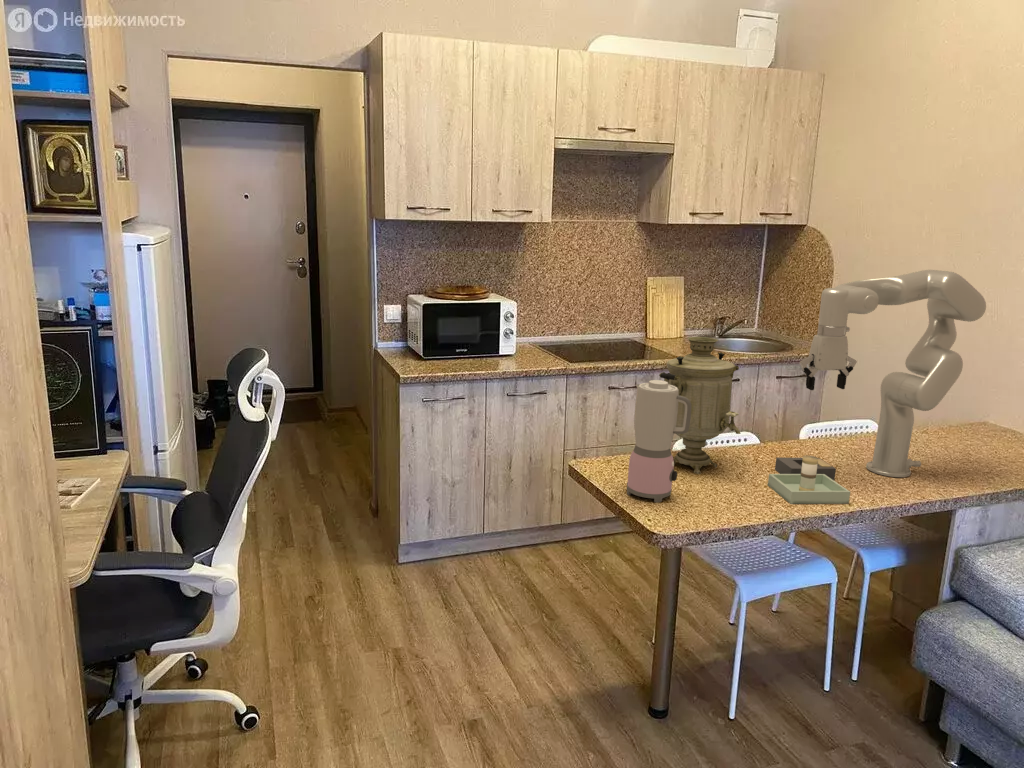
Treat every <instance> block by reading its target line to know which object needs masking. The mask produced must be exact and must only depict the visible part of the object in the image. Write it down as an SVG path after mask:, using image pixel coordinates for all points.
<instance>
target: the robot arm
mask: <svg viewBox="0 0 1024 768" xmlns="http://www.w3.org/2000/svg"><path fill="white" fill-rule="evenodd" d="M820 297H821V298H820V304H819V305H820V306H819V315H818V324H817V334H814V335H813V338H812V341H811V344H810V349H809V353H808V356H807V357H805V358H803V359H802V360H800V361H799V365H800V367H801V371H802V372H803V373H804V375H805V376H806V377H805V378H806V380H805V386H806V387H805V388H806V389H807V390H809V391H814V390H815V384H816V377H815V375H816V374H817V373H818V372H819V371H822V372H823V371H824V372H825V371H838V372H839V373H838V374H837V378H836V388H838V389H840V390H845V389H846V384H847V378H848V376H849V375H850V373H851V372H852V371H853V370H854V367H855V366H856V364H857V362H858V360H856V359H854V358H853V357H851V356H849V344H848V343H849V341H848V336H846V334H847V332H850V330H851V328H850V327H849V326H847V323H848V316H849V314H856V315H868V314H870V313H872V312H874V311H875V310H876V309H877V307H878V305H879V306H880V305H882V306H900V305H904V304H910V303H913V302H917V301H921V300H927V303H926V307H927V308H926V309H927V313H928V314H927V315H928V326H927V328H926V330H925V331H924V333H923V335H922V336H921V337H920V339H919V340H918V341H917V343H916V344H915V346H913V348H912V349H911V351H910V352H909V354H908V355H907V356H906V358H905V361H904V362H905V364H904V365H905V367H906V369H907V371H908V372H911V373H913V374H910V373H907V372H903V371H893V372H890V373H888V374H887V375H885V377H883V379H882V381H881V384H880V413H879V419H878V425H877V431H876V437H875V444H874V449H873V456H872V460H871V461H868V462H867V463H866V466H865V468H866V469H867V470H869V472H870V471H871V473H874V474H877V475H881V476H885V477H891V478H906V477H907V478H908V477H910V476H911V474H912V471H911V469H910V468H912V467H913V468H914V467H916V468H921V466H922V462H921V461H920V460H912V459H911V458H908V457H909V451H910V446H911V441H912V440H911V439H912V436H913V435H912V433H913V427H914V424H915V423H914V422H915V413H914V410H917V411H922V412H926V411H932V410H933V409H935V408H936V407H937V406H938V405H939V404H940V402H942V400H943V398H945V396H946V395H947V393H948V392H949V391H950V390H951V389H952V387H953V386H954V385H955V383H956V382H957V380H958V379H959V378H960V376H961V374H962V371H963V366H964V363H963V358H962V356H961V354H959V353H958V352H956V351H955V350H953V349H952V350H951V348H952V347H953V346H954V344H955V342H956V340H957V328H956V324H955V320H956V321H962V322H968V323H969V322H970V323H971V322H975V321H978V320H980V319H981V318H982V317H983V316H984V315H985V312H986V309H987V302H986V299H985V297H984V296H983V295H982V293H981V292H980V291H978V290H977V288H975V287H974V286H973V285H972V284H971V283H970V282H969V281H968V280H967V279H966V278H964V277H963V276H962V275H960V274H958V273H957V272H954V271H948V270H947V271H946V270H938V269H922V270H918V271H915V272H910V273H906V274H900V275H896V276H888V277H881V278H880V277H879V278H871V279H870V278H869V279H863V280H855V281H851V282H846V283H841V284H838V285H836V286H835V287H828V288H824V289H823V290H822V291H821V296H820ZM915 374H916V375H915ZM917 375H918V376H917Z"/></svg>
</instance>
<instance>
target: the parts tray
mask: <svg viewBox="0 0 1024 768" xmlns="http://www.w3.org/2000/svg"><path fill="white" fill-rule="evenodd" d="M800 477H801V474H780V473H768V479H767V486H768V487H769V488H771V490H773V491H774V492H775V493H776V494H777V495H779V496H780V497H781V498H782V499H784V500H785V501H786V502H787V503H789V504H790V505H804V504H805V505H812V504H813V505H817V504H818V505H825V504H826V505H829V504H831V505H833V504H835V505H838V504H839V505H840V504H841V505H843V504H844V505H847V504H849V503H850V497H851V491H850V490H848V489H847V488H846V487H844V486H842V485H841V484H839V483H838V482H837V481H836V480H832V479H831V478H829V477H828V476H826V475H825V474H816V480H815V489H814V491H799V485H800Z"/></svg>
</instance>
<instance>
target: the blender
mask: <svg viewBox="0 0 1024 768" xmlns="http://www.w3.org/2000/svg"><path fill="white" fill-rule="evenodd" d="M635 387H636V397H635V404H634V418H633V422H634V437H635V445H634V448H633V450H632V451H631V454H630V456H629V459H628V460H629V461H628V473H627V482H626V495H628V496H631V495H635V496H637V497H642V498H647V499H653V502H654V503H661V502H663V499H664V498H667V497H669V496H671V495H672V489H673V487H672V486H673V482H675V481H677V478H678V471H677V470H675V469H674V467H675V463H674V460H673V459H674V457H673V454H672V450H671V446H672V442H673V438H674V435H676V434H684V433H687V432H688V430H689V426H690V419H691V402H690V400H689V399H687V398H686V397H683V396H679V395H678V393H679V390H678V388H677V387H675V386H673V385H669V384H668V382H666V381H664V380H660V379H652V380H649V381H648V382H643V383H636V384H635ZM678 402H681V403H683V404H684V405H685V413H684V422H683V427H681V428H680V427H676V421H677V411H678Z"/></svg>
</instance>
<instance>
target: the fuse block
mask: <svg viewBox="0 0 1024 768" xmlns="http://www.w3.org/2000/svg"><path fill="white" fill-rule="evenodd" d="M775 458H776V459H775V464H774V465H775V466H774V471H776V472H777V474H801V469H802V460H803V457H782V456H781V457H779V456H778V457H775ZM817 458H818V464H817V472H816V474H825V475H826V476H828V477H829V478H831V479H832V480H834V481H836V480H835V477H836V472H837V468H836V467H835V466H833V465H831V464H830V463H828V462H826V461H825V460H824V459H822V458H820V457H817Z"/></svg>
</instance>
